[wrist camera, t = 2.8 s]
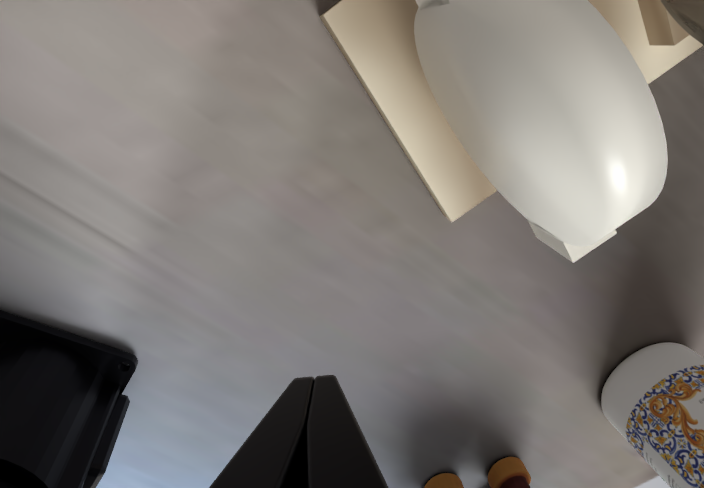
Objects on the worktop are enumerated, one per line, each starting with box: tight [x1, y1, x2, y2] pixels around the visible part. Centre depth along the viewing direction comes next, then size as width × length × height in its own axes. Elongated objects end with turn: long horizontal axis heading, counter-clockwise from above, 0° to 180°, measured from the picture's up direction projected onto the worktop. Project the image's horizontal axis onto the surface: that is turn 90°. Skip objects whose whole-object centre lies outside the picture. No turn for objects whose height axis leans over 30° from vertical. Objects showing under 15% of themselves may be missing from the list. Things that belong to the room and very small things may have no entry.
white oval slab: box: [414, 0, 668, 263], centre depth 12 cm, size 2×10×8 cm, turn 35°
